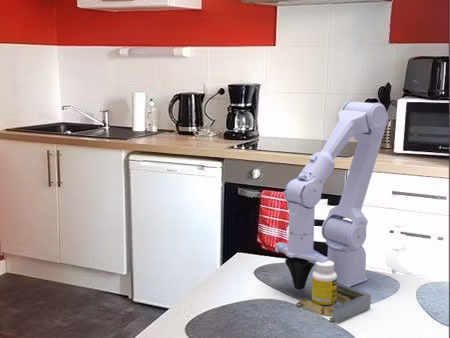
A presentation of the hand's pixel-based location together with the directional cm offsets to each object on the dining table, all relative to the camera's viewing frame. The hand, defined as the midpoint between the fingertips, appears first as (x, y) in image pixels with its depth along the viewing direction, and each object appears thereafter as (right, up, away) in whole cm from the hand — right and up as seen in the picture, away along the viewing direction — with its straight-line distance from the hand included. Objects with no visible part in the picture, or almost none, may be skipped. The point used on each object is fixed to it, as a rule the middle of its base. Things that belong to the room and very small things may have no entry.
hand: (299, 288), depth 132 cm
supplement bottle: (+5, -3, -6) cm, 8 cm away
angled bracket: (+6, -3, -7) cm, 9 cm away
